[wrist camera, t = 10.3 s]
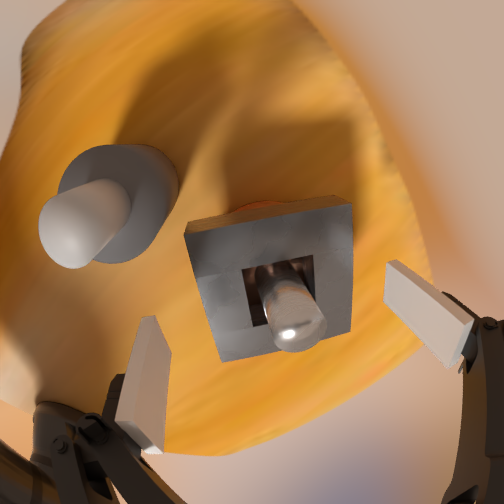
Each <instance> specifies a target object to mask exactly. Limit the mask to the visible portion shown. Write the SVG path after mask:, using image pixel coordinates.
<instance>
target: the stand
mask: <svg viewBox="0 0 504 504" xmlns="http://www.w3.org/2000/svg"><path fill="white" fill-rule="evenodd" d="M178 191H179V181H178V176H177V172H176V170H175V167H174V165H173V164H172V162H171V161H170V159H169V158H168V157H167V156H166V155H165V154H164V153H163V152H161V151H160V150H158V149H156V148H154V147H152V146H148V145H141V144H126V145H102V146H97V147H93V148H91V149H88V150H86V151H84V152H83V153H81V154H80V155H79V156H77V157H76V158H75V159H74V160H73V161H72V162H71V163H70V165H69V166H68V167H67V169H66V170H65V172H64V174H63V176H62V178H61V181H60V184H59V188H58V193H57V195H56V196H54V197H52V198H51V199H49V200H48V201H47V202H46V204H45V205H44V207H43V208H42V210H41V213H40V217H39V224H38V228H39V236H40V240H41V243H42V245H43V247H44V249H45V251H46V252H47V254H48V255H49V256H50V257H51V258H52V259H53V260H54V261H55V262H56V263H58V264H59V265H61V266H63V267H66V268H71V269H76V268H81V267H83V266H85V265H87V264H88V263H89V262H90V261H91V260H92V259H93V260H95V261H98V262H102V263H109V264H112V263H122V262H126V261H129V260H131V259H133V258H135V257H137V256H138V255H140V254H141V253H142V252H144V251H145V250H146V249H147V248H148V247H149V245H150V244H151V243H152V241H153V240H154V238H155V237H156V235H157V233H158V232H159V230H160V228H161V227H162V225H163V224H164V222H165V220H166V219H167V217H168V215H169V214H170V212H171V211H172V209H173V207H174V205H175V203H176V200H177V197H178Z"/></svg>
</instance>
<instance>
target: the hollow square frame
mask: <svg viewBox="0 0 504 504" xmlns="http://www.w3.org/2000/svg"><path fill="white" fill-rule="evenodd" d="M184 238H185V242H186V246H187V250H188V253H189V257H190V261H191V264H192V268H193V272H194V275H195V279H196V282H197V286H198V289H199V292H200V296H201V299H202V303H203V306H204V309H205V312H206V316H207V319H208V322H209V325H210V328H211V331H212V334H213V337H214V340H215V343H216V346H217V349H218V352H219V355H220V358H221V361H222V362H228V361H233V360H239V359H244V358H249V357H254V356H259V355H263V354H268V353H273V352H277V351H281V349H280V348H278V347H277V346H276V344H275V342H274V340H273V337H272V333H271V330H270V327H269V324H268V321H267V317H266V314H265V311H264V308H263V305H262V303H259V304H255V305H250V306H249V305H248V300H247V295H246V291H245V286H244V281H243V276H242V271H241V269H246V268H251V267H255V266H260V265H265V264H270V263H275V262H279V261H284V260H289V259H294V258H298V257H302V263H303V275H304V285H305V286H306V288H307V290H308V291H309V293H310V294H311V296H312V298H313V299H314V301H315V302H316V304H317V306H318V307H319V309H320V311H321V312H322V314H323V316H324V317H325V319H326V323H327V328H326V332H325V334H324V336H323V337H322V339H321V340H324V339H327V338H331V337H334V336H337V335H341V334H344V333H347V332H350V329H351V313H352V291H353V223H352V203H350V202H348V201H346V200H344V199H341V198H339V197H337V196H335V195H331V196H324V197H318V198H311V199H305V200H299V201H293V202H288V203H282V204H276V205H271V206H265V207H260V208H254V209H249V210H244V211H239V212H234V213H229V214H224V215H219V216H214V217H209V218H204V219H199V220H195V221H190V222H188V223H187V226H186V229H185V232H184Z"/></svg>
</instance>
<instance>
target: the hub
mask: <svg viewBox="0 0 504 504" xmlns="http://www.w3.org/2000/svg"><path fill="white" fill-rule="evenodd" d="M276 204H282V202H277V201H259V202H254V203H250V204H248V205H245V206H242V207H241V208H239V209H237V210H235V211H234V212H239V211H244V210H249V209H254V208H260V207H265V206H271V205H276ZM234 212H233V213H234ZM241 271H242V276H243V281H244V286H245V291H246V295H247V300H248V305H249V306H250V305H255V304H259V303H262V305H263V308H264V311H265V314H266V317H267V321H268V324H269V327H270V330H271V333H272V337H273V340H274V342H275V344H276V346H277V347H278V348H280V349H281V350H283V351H286V352H301V351H304V350H307V349H309V348H311V347H313V346H314V345H316V344H317V343H318V342H319V341H320V340H321V339H322V337H323V336H324V334H325V332H326V328H327V323H326V319H325V317H324V316H323V314H322V312H321V311H320V309H319V307H318V306H317V304H316V302H315V301H314V299H313V298H312V296H311V294H310V293H309V291H308V290H307V288H306V286H305V285H304V275H303V263H302V257H298V258H294V259H289V260H284V261H279V262H275V263H270V264H265V265H260V266H255V267H251V268H246V269H241Z"/></svg>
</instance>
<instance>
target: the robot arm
mask: <svg viewBox="0 0 504 504" xmlns="http://www.w3.org/2000/svg"><path fill="white" fill-rule="evenodd" d="M383 302H384V303H385V304H386V305H387V306H388V307H389V308H390V309H391V310H392V311H393V312H394V313H395V314H396V315H397V316H398V317H399V318H400V319H401V320H402V321H403V322H404V323H405V324H406V325H407V326H408V327H409V328H410V329H411V330H412V331H413V333H414V334H415V335H416V336H417V337H418V338H419V339H420V340H421V341H422V342H423V343H424V344H425V345H426V346H427V347H428V348H429V350H430V351H431V352H432V353H433V354H434V355H435V356H436V357H437V358H438V359H439V360H440V362H441V363H442V364H443V365H444V366H445V367H446V368H447V369H448V368H450V367H451V366H453V365H455V364H456V363H457V362H458V360H459V357H460V355H461V354H462V355H463V356H464V360H463V362H462V364H461V366H460V368H459V371H458V373H460V371H461V370H462V368H463V404H462V419H461V430H460V438H459V446H458V452H457V458H456V464H455V469H454V474H453V478H452V481H451V484H450V486H449V487H448V489H447V490H446V492H445V494H444V496H443V499H442V503H441V504H474V502H475V501H476V504H504V320H501V321H497V320H495V319H493V318H491V317H483V318H480V317H478V316H477V315H476V314H475V313H474V312H472V311H471V310H470V309H469V308H467V307H466V306H465V305H463V304H462V303H461V302H460V301H458V300H457V299H456V298H455V297H453V296H452V295H450V294H448V293H445V292H440V291H439V290H438V289H436V288H435V287H434V286H432V285H431V284H430V283H428V282H427V281H426V280H424V279H423V278H422V277H420V276H419V275H418V274H416V273H415V272H413V271H412V270H411V269H409V268H408V267H407V266H405V265H404V264H402V263H401V262H399V261H398V260H397V259H396V260H393V261H389V262H387V263H386V277H385V288H384V298H383ZM171 354H172V353H171V351H170V349H169V346H168V344H167V342H166V340H165V338H164V335H163V333H162V331H161V328H160V326H159V324H158V321H157V319H156V317H155V315H154V316H148V317H142V319H141V322H140V325H139V328H138V332H137V335H136V338H135V342H134V345H133V349H132V352H131V356H130V359H129V363H128V367H127V370H126V374H117V375H116V376H115V377H114V379H113V380H112V381H111V384H110V387H109V393H108V394H107V400H106V402H105V405H104V409H103V413H102V417H101V416H100V415H99V414H96V413H87V414H84V413H82V412H79V411H77V410H75V409H72V408H70V407H67V406H64V405H61V404H58V403H53V402H41V403H39V404H38V405H37V407H36V410H35V412H34V415H33V423H34V426H33V451H32V455H31V458H30V461H28V460H27V459H26V458H24V457H23V456H21V455H20V454H19V453H17V452H16V451H15V450H14V449H12V448H11V447H10V446H8V445H7V444H6V443H5V442H4V441H2V440H1V439H0V504H120V503H119V501H118V498H117V496H116V493H115V491H114V488H113V486H112V483H113V485H114V486H115V487H116V489H117V490H118V491H119V493H120V494H121V495H122V497H123V498H124V500H125V501H126V502H127V503H128V504H187V503H186V502H185V501H183V500H182V499H181V498H180V497H179V496H178V495H177V494H176V493H175V492H174V491H173V490H172V489H171V488H170V487H169V486H168V485H167V484H166V483H165V482H164V481H163V480H162V479H161V478H160V476H159V475H158V474H157V473H156V472H155V471H154V470H153V469H152V468H151V467H150V465H149V464H148V463H147V462H146V461H145V460H144V458H142V457H141V449H143V450H144V451H145V452H146V453H147V454H164V436H165V419H166V405H167V393H168V382H169V372H170V363H171ZM111 482H112V483H111Z"/></svg>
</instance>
